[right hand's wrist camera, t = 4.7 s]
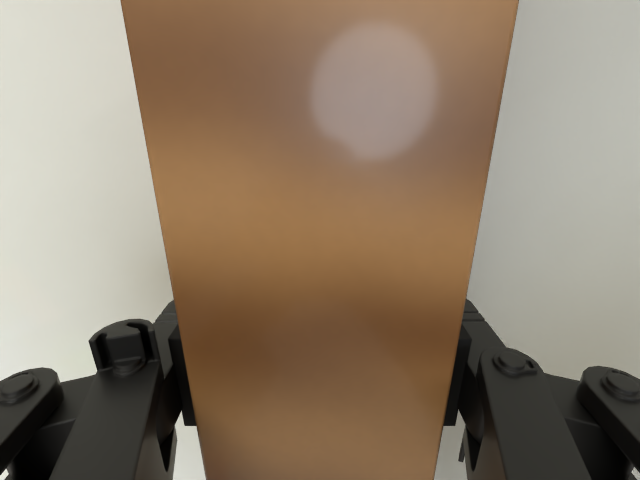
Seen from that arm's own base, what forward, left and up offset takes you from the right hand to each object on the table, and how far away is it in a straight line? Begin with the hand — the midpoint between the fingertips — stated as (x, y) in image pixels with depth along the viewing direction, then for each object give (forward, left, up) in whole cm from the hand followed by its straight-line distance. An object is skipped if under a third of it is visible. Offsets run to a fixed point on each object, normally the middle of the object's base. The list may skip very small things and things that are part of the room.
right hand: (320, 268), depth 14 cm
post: (+19, +14, -1) cm, 23 cm away
